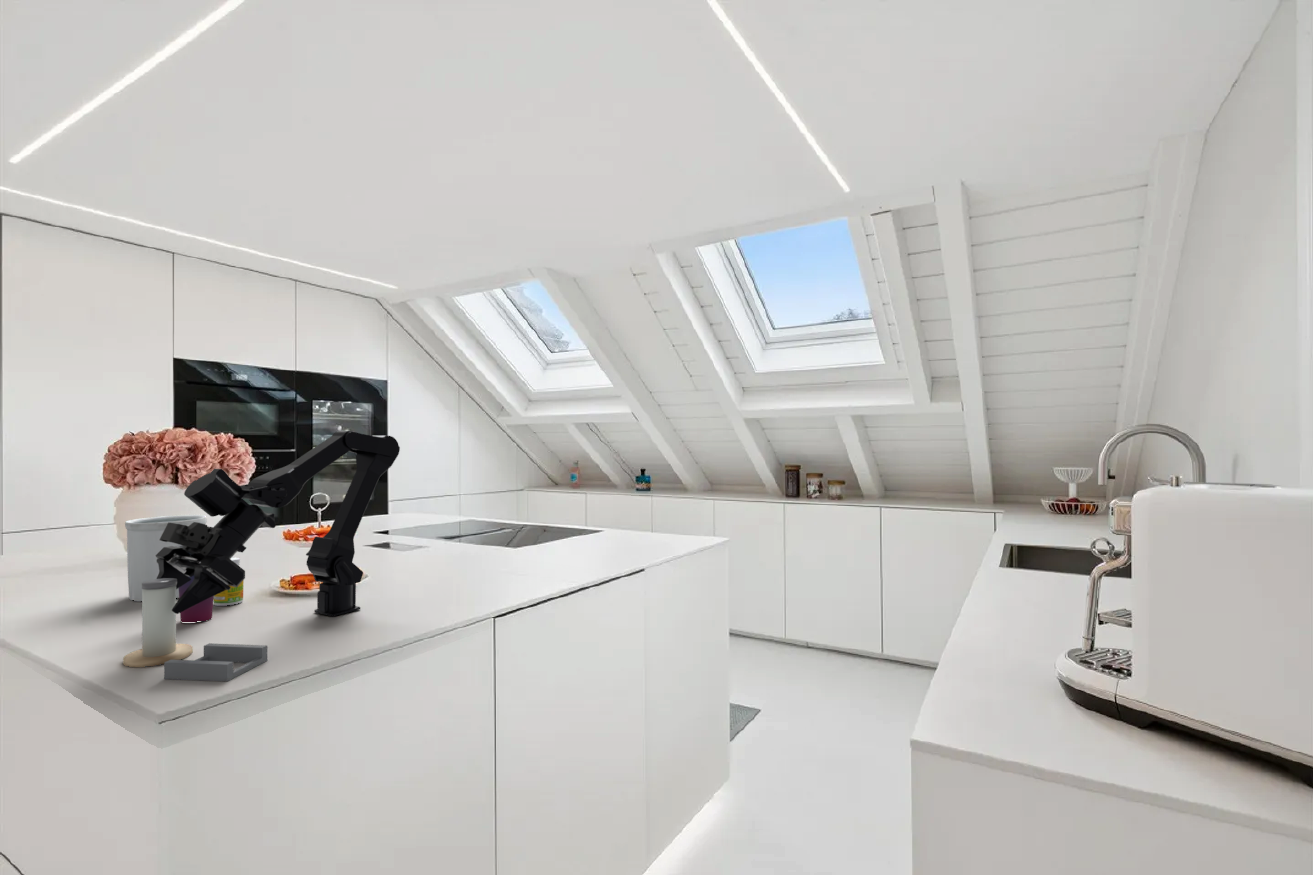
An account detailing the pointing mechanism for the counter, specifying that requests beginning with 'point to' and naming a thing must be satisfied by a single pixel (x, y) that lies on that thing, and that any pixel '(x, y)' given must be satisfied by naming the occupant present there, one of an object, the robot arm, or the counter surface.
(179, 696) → the counter surface
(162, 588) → the white jar with lid
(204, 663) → the socket frame
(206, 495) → the robot arm
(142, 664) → the coaster
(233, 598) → the supplement bottle
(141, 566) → the utensil holder
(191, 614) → the cup
